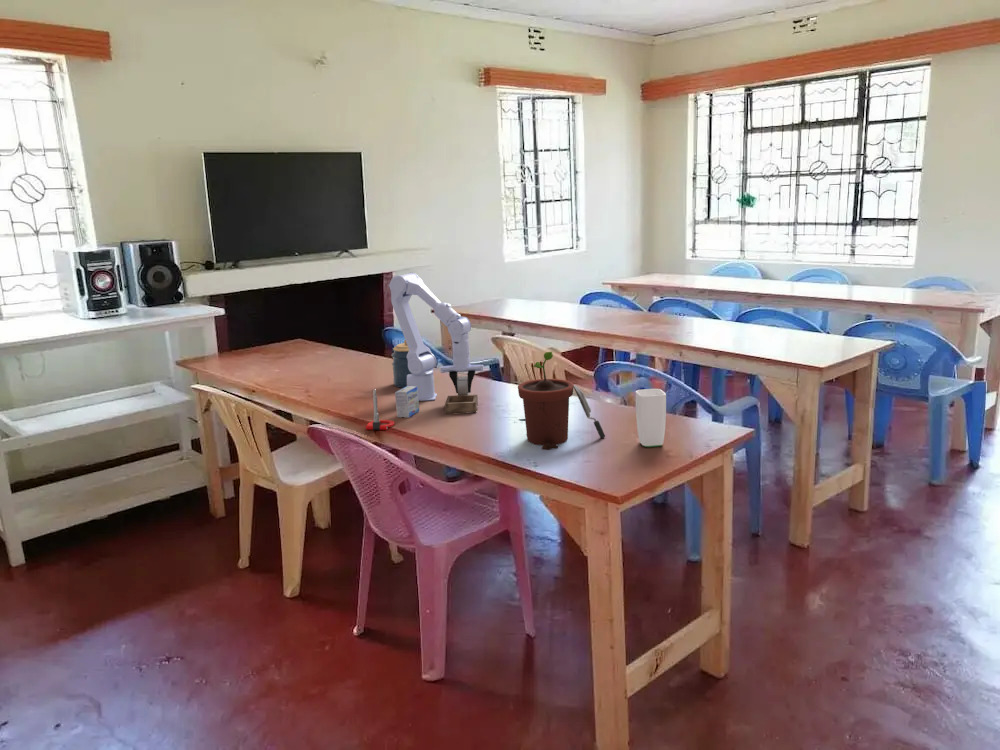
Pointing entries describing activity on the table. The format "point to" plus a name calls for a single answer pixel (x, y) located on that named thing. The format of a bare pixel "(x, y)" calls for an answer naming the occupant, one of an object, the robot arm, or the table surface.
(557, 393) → the potted plant
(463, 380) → the grey two-tone block
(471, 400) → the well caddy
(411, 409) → the medicine box
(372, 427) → the tow hook
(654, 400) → the cup
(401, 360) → the canister
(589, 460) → the table surface
